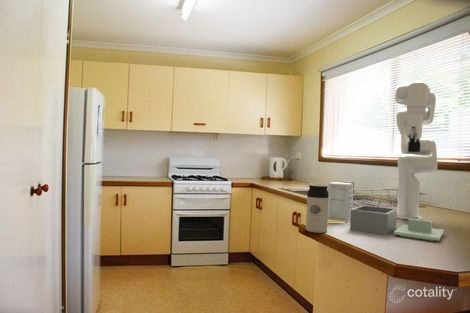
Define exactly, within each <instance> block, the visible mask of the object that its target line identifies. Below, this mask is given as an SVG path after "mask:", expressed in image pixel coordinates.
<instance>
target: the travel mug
mask: <svg viewBox="0 0 470 313" xmlns="http://www.w3.org/2000/svg"><path fill="white" fill-rule="evenodd" d="M308 188H309V189H308V191H307V194H306V195H307V198H306V219H305V231H308V232H310V233H316V234H322V233H323V234H324V233H326V232H328V220H329V219H328V198H329V193H328V188H329V184H326V183H314V182H313V183H308Z"/></svg>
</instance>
